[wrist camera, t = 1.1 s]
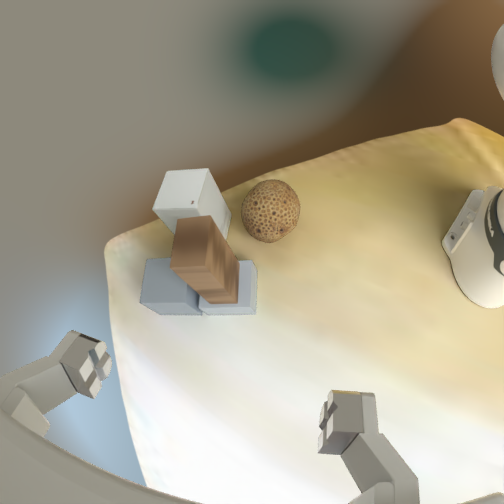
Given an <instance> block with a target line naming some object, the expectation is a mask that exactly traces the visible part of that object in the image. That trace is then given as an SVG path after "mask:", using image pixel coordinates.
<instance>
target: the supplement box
mask: <svg viewBox="0 0 504 504" xmlns="http://www.w3.org/2000/svg"><path fill="white" fill-rule="evenodd" d="M152 210H153V211H154V212H155V213H156V214H157V215H158V216H159V218H160V219H161V220H162V221H163V222H164V223H165V225H166V226H167V227H168V228H169V229H170V230H171V232H172V233H173V234H174V235H175V230H176V225H177V219H181V218H189V217H198V216H207V215H211V217H212V218H213V220H214V222H215V223H216V225H217V227H218V228H219V230H220V232H221V233H222V235H223V237H224V238H225V240H226V238H227V234H228V229H229V225H230V221H231V216H232V214H231V212H230V210H229V208H228V206H227V204H226V202H225V200H224V198H223V196H222V195H221V193H220V191H219V189H218V187H217V185H216V183H215V181H214V179H213V177H212V175H211V174H210V171H209V169H208V168H205V169H189V170H175V171H167V172H166V175H165V177H164V180H163V183H162V185H161V187H160V190H159V193H158V196H157V198H156V201H155V203H154V206H153V208H152Z"/></svg>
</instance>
